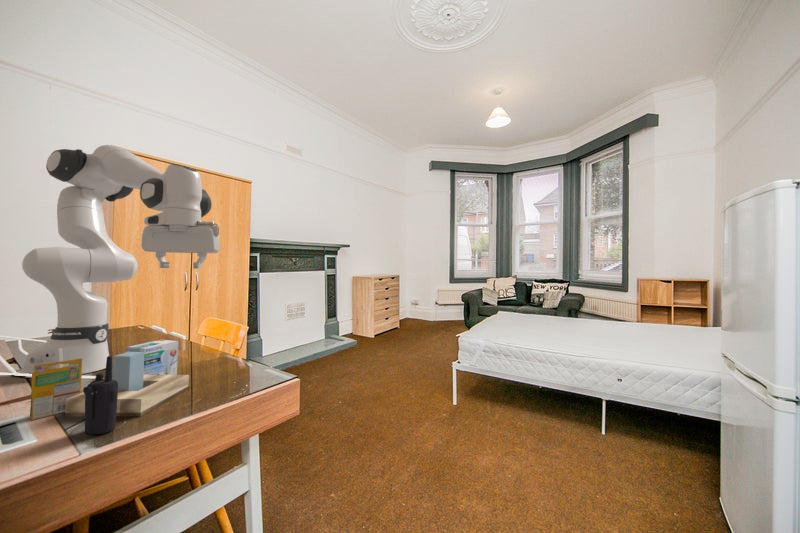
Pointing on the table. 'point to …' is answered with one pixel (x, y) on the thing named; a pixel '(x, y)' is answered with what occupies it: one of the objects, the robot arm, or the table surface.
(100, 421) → the two-way radio
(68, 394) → the crayon box
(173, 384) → the pocket block
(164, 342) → the light bulb box
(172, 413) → the table surface
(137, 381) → the post
